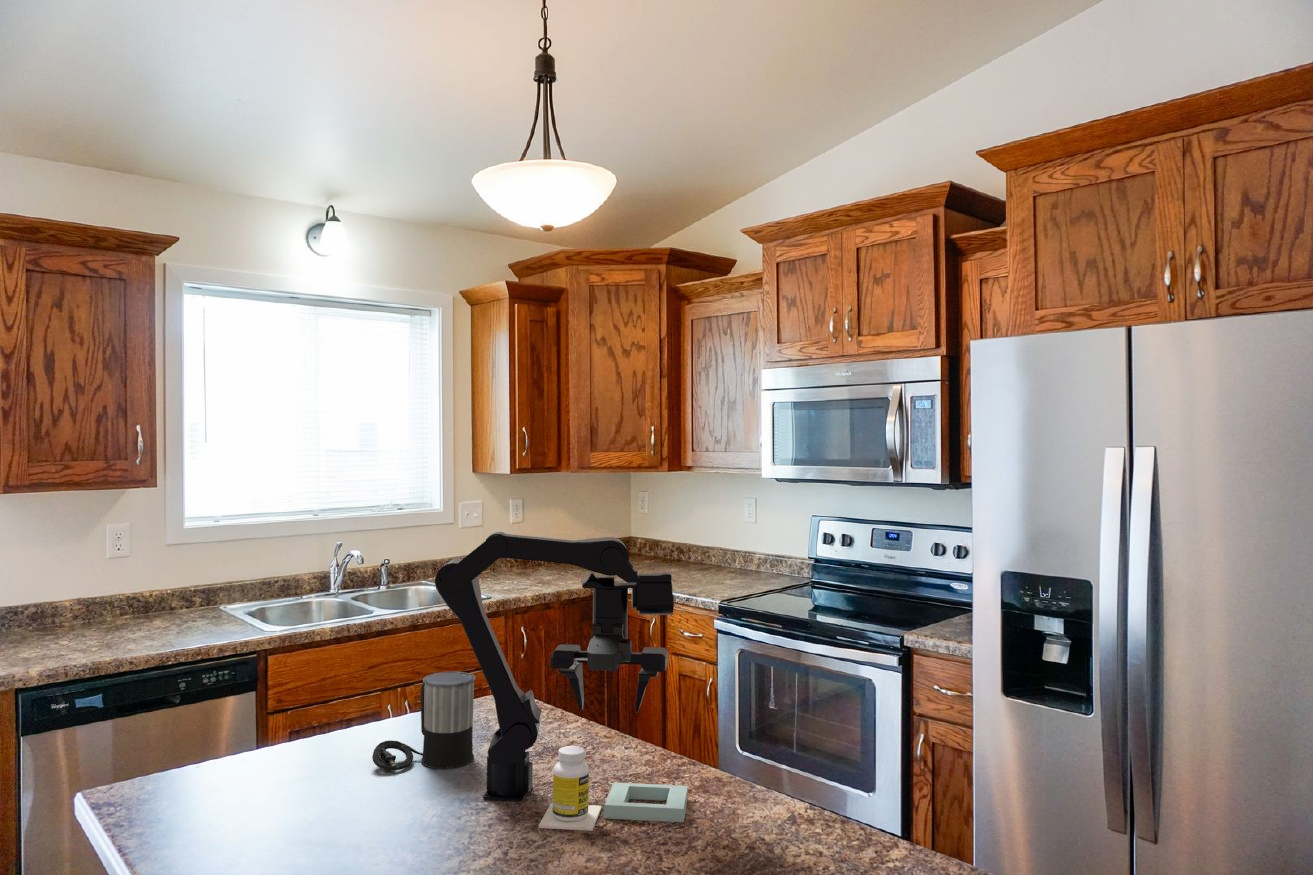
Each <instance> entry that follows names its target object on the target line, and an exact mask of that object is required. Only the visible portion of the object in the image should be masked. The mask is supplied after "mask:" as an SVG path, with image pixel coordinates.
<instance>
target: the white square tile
mask: <svg viewBox="0 0 1313 875" xmlns="http://www.w3.org/2000/svg"><path fill="white" fill-rule="evenodd" d="M552 806H553V802H552V803H550V804H549V806H548V808H547V810H546V811H545V813H544V815H543V817H542V819H541V821H540V823H538V829H552V830H568V831H569V830H572V831H588V832H589V831H590V832H593V830H594V828H595V826H596V824H597V821H598V818H599V816H600V814H601V811H602V809H603V808H602V805H595V804H594V805H592V804H591V805H590V804H588V814H587V816H586V817H585V818H583V819H582V820H578V821H561V820H558V819H556V818H555V817H554V816H553V813H552V808H553V807H552Z"/></svg>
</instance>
